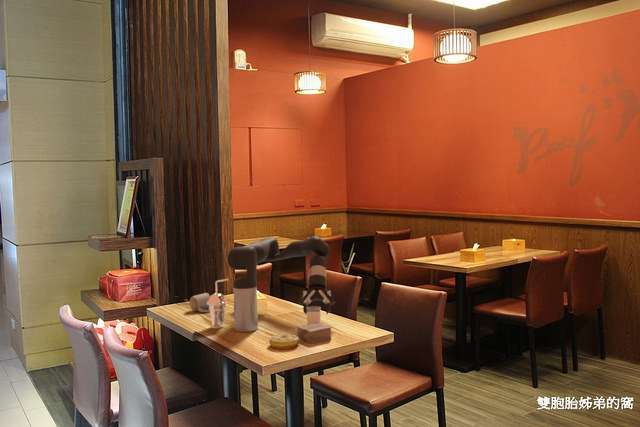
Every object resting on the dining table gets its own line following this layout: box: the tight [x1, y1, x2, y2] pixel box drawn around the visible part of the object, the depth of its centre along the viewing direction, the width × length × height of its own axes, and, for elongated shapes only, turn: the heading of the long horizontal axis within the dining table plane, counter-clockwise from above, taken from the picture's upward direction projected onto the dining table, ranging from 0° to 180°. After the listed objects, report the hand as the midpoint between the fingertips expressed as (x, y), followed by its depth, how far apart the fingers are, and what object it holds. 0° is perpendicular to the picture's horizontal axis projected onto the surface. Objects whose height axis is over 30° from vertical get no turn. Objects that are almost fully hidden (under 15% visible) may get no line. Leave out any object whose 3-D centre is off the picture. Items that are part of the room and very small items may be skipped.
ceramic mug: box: [189, 292, 211, 313], centre depth 265 cm, size 11×8×8 cm
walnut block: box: [296, 323, 332, 344], centre depth 215 cm, size 9×9×4 cm
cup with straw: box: [207, 278, 230, 329], centre depth 236 cm, size 8×9×20 cm
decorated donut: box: [268, 332, 300, 350], centre depth 208 cm, size 10×11×4 cm
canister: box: [306, 305, 322, 325], centre depth 227 cm, size 5×5×9 cm
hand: (316, 313), depth 229 cm, fingers open, 8 cm apart
